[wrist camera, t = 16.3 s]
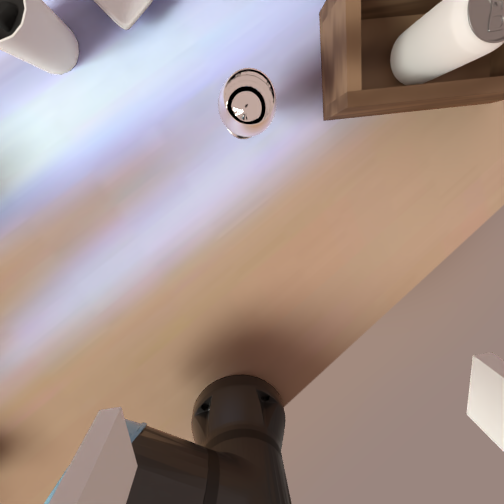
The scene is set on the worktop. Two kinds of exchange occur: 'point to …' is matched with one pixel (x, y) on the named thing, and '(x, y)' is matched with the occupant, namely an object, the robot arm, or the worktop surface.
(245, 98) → the wineglass
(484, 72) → the narrow open box
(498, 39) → the can
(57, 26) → the white cup
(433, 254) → the worktop surface
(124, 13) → the tray
